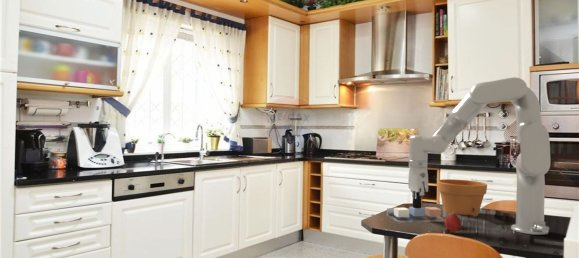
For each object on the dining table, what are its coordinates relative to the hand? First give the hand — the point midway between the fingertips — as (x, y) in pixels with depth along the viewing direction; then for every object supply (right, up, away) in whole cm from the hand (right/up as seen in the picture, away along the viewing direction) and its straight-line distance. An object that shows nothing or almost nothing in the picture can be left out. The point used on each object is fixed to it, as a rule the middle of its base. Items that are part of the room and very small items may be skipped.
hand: (416, 207), depth 181 cm
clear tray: (0, -6, 0) cm, 6 cm away
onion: (+8, -6, -19) cm, 22 cm away
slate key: (0, -3, 0) cm, 3 cm away
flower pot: (+25, -6, +16) cm, 30 cm away
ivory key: (-7, -3, -1) cm, 8 cm away
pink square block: (+7, -3, +1) cm, 8 cm away
